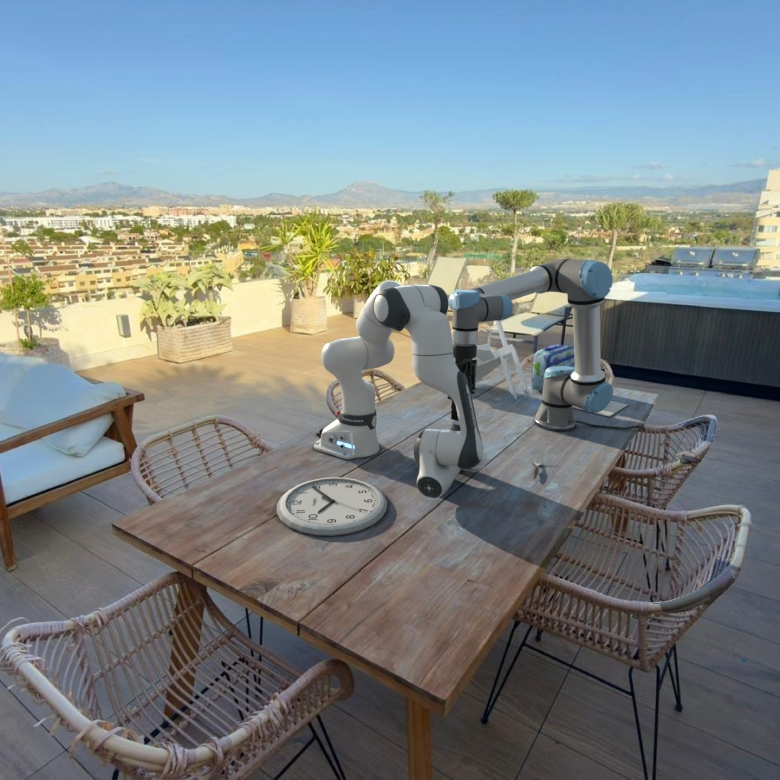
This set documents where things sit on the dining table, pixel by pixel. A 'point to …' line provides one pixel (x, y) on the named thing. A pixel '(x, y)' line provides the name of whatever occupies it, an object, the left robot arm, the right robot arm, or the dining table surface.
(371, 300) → the left robot arm
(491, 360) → the white plastic object
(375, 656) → the dining table surface
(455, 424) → the jar
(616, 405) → the invitation card
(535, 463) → the fork
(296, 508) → the wall clock
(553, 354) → the lunch box
